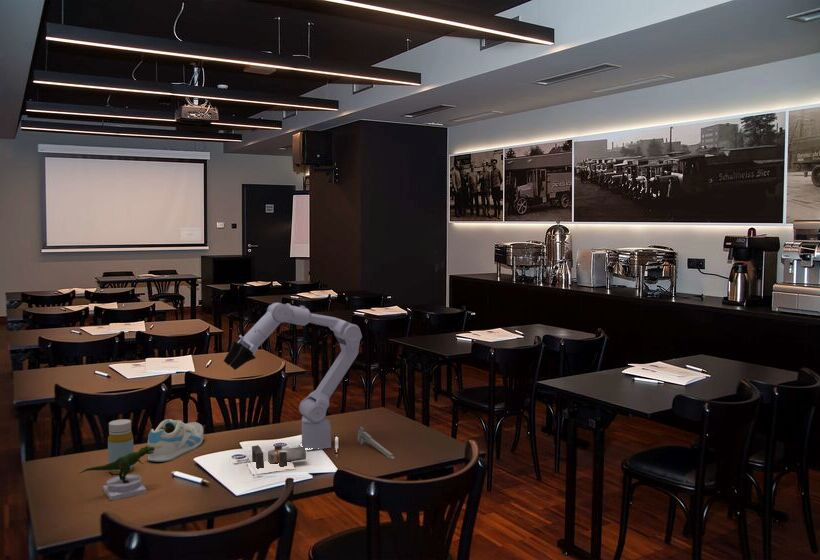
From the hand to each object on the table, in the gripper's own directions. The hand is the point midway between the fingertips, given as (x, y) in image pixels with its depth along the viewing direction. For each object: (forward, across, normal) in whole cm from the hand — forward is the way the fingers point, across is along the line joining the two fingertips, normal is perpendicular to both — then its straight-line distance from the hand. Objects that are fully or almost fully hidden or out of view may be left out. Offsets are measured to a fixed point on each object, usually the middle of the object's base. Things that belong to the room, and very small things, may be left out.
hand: (229, 365), depth 211 cm
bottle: (+44, -6, 0) cm, 44 cm away
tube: (+10, +13, +31) cm, 35 cm away
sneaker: (+31, -19, +13) cm, 38 cm away
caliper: (-10, +14, +53) cm, 56 cm away
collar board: (+15, +13, +28) cm, 34 cm away
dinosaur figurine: (+46, +11, -2) cm, 47 cm away
